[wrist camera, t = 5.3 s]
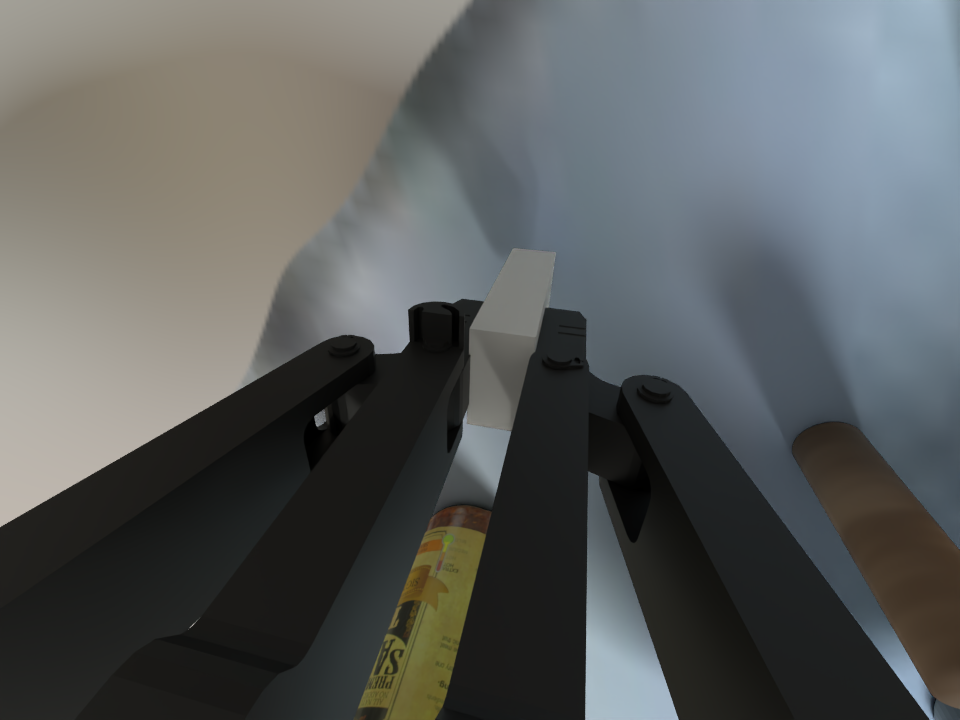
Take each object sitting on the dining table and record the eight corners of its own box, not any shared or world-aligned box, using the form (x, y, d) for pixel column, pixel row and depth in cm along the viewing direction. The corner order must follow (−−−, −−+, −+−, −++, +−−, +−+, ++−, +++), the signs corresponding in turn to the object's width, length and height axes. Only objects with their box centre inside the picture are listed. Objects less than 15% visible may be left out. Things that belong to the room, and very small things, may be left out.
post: (878, 428, 18) (1097, 674, 10) (847, 474, 19) (1021, 723, 11) (806, 417, 18) (965, 646, 10) (782, 463, 19) (906, 696, 12)
